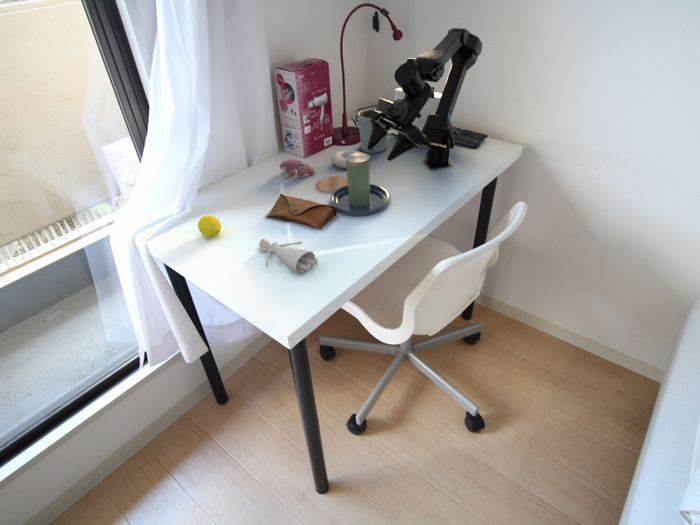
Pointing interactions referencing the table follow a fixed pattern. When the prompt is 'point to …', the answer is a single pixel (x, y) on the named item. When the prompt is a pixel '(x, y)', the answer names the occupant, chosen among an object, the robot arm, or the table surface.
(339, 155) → the donut
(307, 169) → the video game controller
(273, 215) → the sunglasses case
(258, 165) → the table surface
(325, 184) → the coaster
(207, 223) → the lemon
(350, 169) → the tea tin
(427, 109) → the skincare box
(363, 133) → the grey-green cup
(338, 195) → the plate
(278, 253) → the woman figurine
